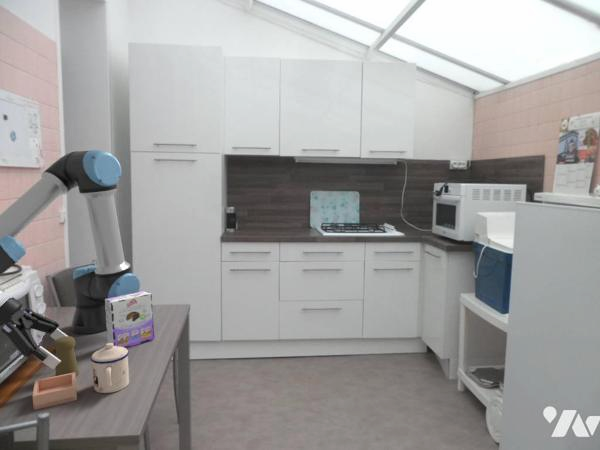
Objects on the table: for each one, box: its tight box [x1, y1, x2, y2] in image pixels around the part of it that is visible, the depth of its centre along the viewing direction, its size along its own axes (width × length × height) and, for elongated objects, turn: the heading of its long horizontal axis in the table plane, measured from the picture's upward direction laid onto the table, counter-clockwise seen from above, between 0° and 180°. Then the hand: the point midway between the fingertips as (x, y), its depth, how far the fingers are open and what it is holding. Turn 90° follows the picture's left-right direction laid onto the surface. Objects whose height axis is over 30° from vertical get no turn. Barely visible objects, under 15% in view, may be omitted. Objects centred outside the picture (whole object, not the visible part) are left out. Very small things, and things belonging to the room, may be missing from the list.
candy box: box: [105, 290, 155, 349], centre depth 142 cm, size 14×6×16 cm, turn 134°
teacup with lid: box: [90, 342, 130, 394], centre depth 112 cm, size 12×9×12 cm
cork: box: [53, 335, 80, 377], centre depth 120 cm, size 6×6×11 cm
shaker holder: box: [32, 372, 78, 411], centre depth 109 cm, size 9×9×4 cm
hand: (65, 354), depth 119 cm, fingers open, 13 cm apart
